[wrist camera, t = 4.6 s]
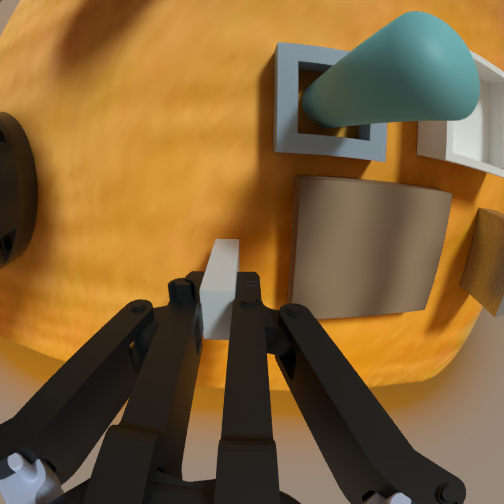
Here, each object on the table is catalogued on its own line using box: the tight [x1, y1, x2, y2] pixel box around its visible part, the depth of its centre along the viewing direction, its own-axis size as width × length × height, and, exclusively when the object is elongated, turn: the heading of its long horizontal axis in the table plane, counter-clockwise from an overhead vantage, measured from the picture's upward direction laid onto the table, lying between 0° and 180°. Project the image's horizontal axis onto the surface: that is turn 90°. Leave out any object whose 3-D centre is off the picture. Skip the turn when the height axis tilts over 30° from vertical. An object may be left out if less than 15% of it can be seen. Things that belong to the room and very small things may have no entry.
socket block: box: [273, 42, 387, 162], centre depth 15 cm, size 7×7×2 cm
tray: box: [417, 50, 504, 178], centre depth 14 cm, size 9×9×4 cm
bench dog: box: [460, 208, 504, 317], centre depth 17 cm, size 3×8×6 cm, turn 179°
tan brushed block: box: [287, 175, 452, 319], centre depth 19 cm, size 12×10×2 cm
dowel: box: [302, 11, 480, 128], centre depth 10 cm, size 3×3×12 cm
